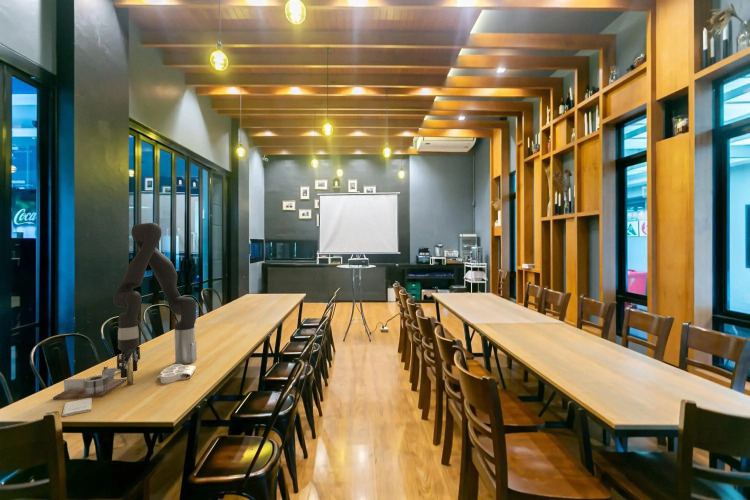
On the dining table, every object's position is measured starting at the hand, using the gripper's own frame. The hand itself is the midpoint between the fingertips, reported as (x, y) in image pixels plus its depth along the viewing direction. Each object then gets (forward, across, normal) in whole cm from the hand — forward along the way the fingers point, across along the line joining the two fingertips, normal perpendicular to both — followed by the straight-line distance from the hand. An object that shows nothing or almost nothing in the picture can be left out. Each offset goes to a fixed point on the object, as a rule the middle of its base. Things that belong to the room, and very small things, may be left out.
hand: (129, 374), depth 166 cm
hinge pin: (+4, 0, 0) cm, 4 cm away
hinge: (+3, -4, +13) cm, 14 cm away
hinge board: (+4, -4, +13) cm, 14 cm away
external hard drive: (+5, -23, +7) cm, 24 cm away
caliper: (+5, +16, +13) cm, 21 cm away
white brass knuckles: (+5, +8, -16) cm, 19 cm away
